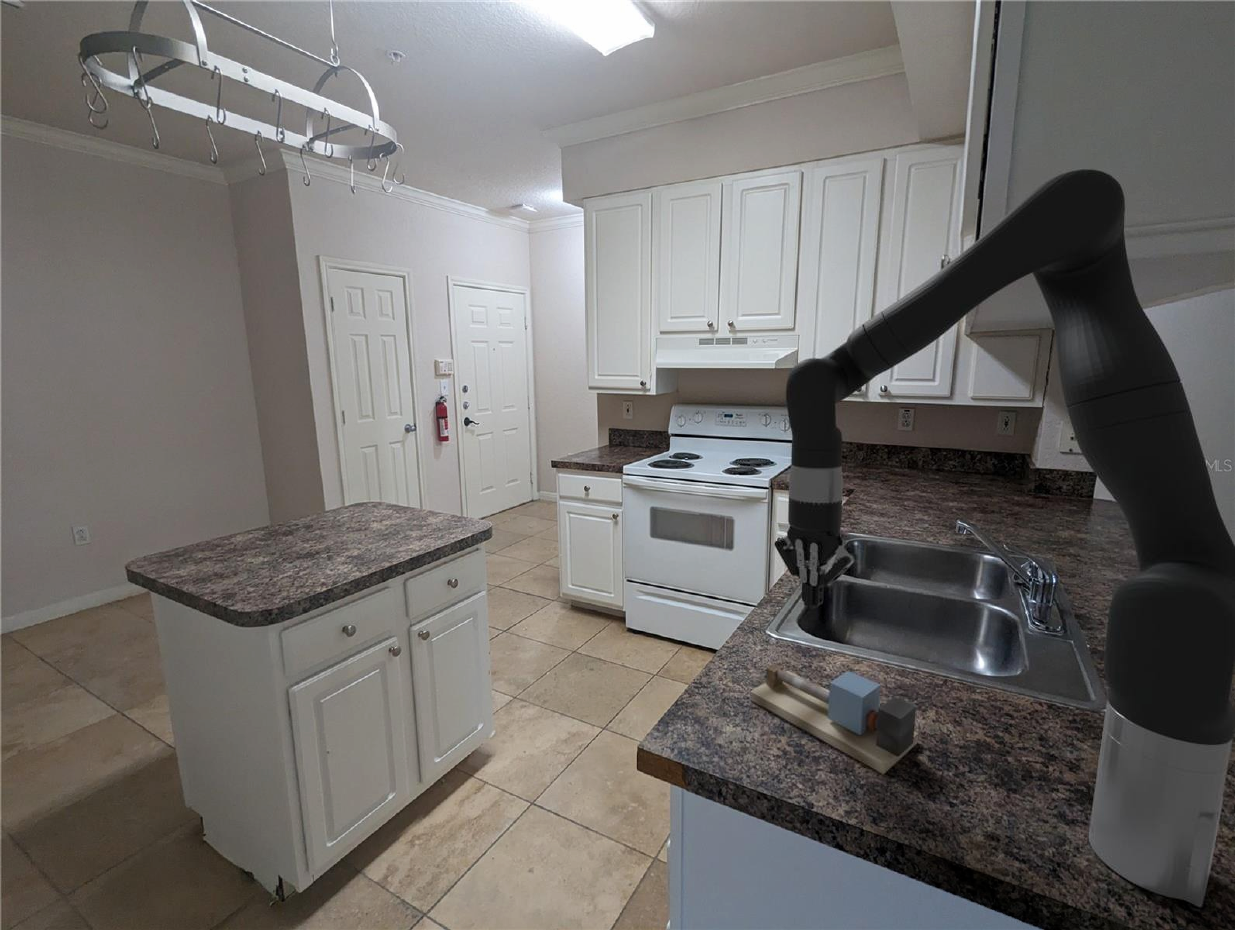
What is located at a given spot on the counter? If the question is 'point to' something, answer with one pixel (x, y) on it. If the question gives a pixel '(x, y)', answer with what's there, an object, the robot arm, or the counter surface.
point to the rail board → (809, 711)
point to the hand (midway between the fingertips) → (811, 606)
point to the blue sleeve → (852, 701)
